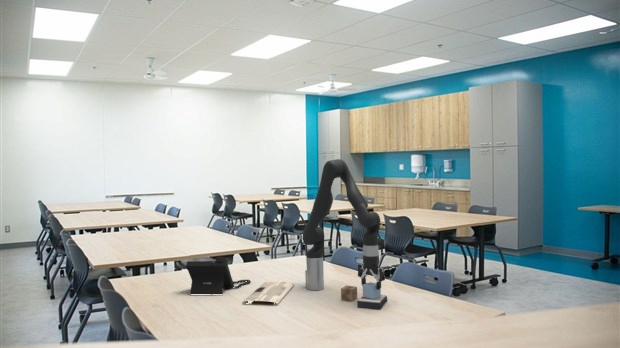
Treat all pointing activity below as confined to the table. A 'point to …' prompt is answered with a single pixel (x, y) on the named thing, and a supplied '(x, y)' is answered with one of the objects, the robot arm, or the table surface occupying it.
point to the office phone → (211, 276)
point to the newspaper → (270, 292)
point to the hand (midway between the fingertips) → (371, 287)
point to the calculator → (372, 302)
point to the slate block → (371, 290)
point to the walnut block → (349, 293)
